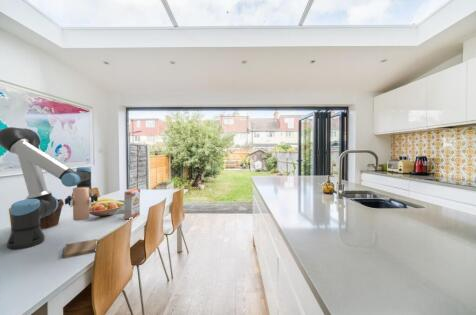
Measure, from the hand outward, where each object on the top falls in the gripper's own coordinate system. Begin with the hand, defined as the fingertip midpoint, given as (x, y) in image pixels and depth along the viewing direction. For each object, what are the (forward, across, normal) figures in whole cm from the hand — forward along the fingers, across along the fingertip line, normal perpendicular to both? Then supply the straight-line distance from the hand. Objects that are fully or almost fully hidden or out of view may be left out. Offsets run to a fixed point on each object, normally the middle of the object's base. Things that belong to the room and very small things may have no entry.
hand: (80, 203), depth 112 cm
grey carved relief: (-71, -25, -26) cm, 79 cm away
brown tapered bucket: (-58, +22, -26) cm, 67 cm away
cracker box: (-52, -30, -26) cm, 65 cm away
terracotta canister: (-5, 0, -9) cm, 10 cm away
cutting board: (-5, 0, -25) cm, 26 cm away
